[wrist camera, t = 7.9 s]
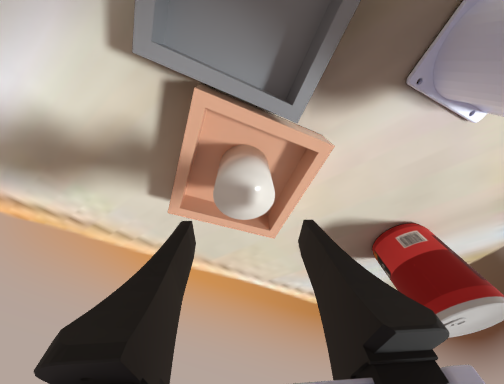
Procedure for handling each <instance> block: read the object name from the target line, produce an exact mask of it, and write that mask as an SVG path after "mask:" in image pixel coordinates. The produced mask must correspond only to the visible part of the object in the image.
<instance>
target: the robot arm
mask: <svg viewBox="0 0 504 384" xmlns="http://www.w3.org/2000/svg"><path fill="white" fill-rule="evenodd" d="M418 79H420V81H419V82H418V83H417V81H418ZM407 84H408V85H409V86H411V87H413V88H414V89H416V90H418V91H419V92H421V93H423V94H424V95H426V96H428V97H429V98H431V99H433V100H435V101H436V102H438V103H440V104H441V105H443V106H445V107H446V108H448V109H450V110H451V111H453V112H455V113H456V114H458V115H460V116H462V117H463V118H465V119H467V120H468V121H470V122H474V123H475V122H478V121H480V120H481V119H482V118H483V117H484V116H485V115H486V114H487V113H489V114H493V115H498V116H503V117H504V0H463V1H462V3H461V4H460V6H459V7H458V8H457V10H456V11H455V12H454V14H453V15H452V17H451V18H450V19H449V21H448V22H447V24H446V25H445V26H444V28H443V29H442V30H441V32H440V33H439V35H438V36H437V37H436V39H435V40H434V42H433V43H432V44H431V46H430V47H429V48H428V50H427V51H426V53H425V54H424V55H423V57H422V58H421V60H420V61H419V62H418V64H417V65H416V66H415V68H414V69H413V71H412V72H411V73H410V75H409V76H408V78H407ZM298 243H299V248H300V252H301V256H302V259H303V262H304V265H305V267H306V270H307V273H308V276H309V278H310V281H311V284H312V287H313V290H314V293H315V296H316V300H317V304H318V308H319V311H320V316H321V320H322V324H323V328H324V333H325V338H326V342H327V347H328V353H329V358H330V363H331V369H332V375H333V380H334V381H321V382H309V383H295V384H485V382H484V381H483V380H482V379H481V377H480V376H479V375H478V373H477V372H476V371H475V369H474V368H473V367H472V366H471V365H457V366H447V367H442V368H440V367H439V366H438V365H437V363H436V362H435V360H437V359H438V357H437V355H436V354H435V352H434V351H433V348H435V347H436V346H438V345H439V344H441V343H442V342H444V341H445V340H446V339H448V337H449V334H450V333H449V331H448V329H447V328H446V327H445V325H444V324H443V323H442V322H441V320H440V319H439V318H438V317H437V315H436V314H435V313H434V312H433V310H431V309H429V308H427V307H425V306H424V305H422V304H420V303H418V302H416V301H414V300H413V299H411V298H409V297H407V296H406V295H404V294H402V293H401V292H399V291H397V290H396V289H394V288H392V287H391V286H389V285H388V284H386V283H385V282H383V281H382V280H380V279H379V278H377V277H376V276H375V275H373V274H372V273H370V272H369V271H368V270H366V269H365V268H364V267H362V266H361V265H360V264H359V263H357V262H356V261H355V260H354V259H352V258H351V257H350V256H349V255H348V254H347V253H346V252H345V251H343V250H342V249H341V248H340V247H339V246H338V245H337V244H336V243H335V242H334V241H333V240H332V239H331V238H330V237H329V236H328V235H327V234H326V233H325V232H324V231H323V230H322V229H321V228H320V227H319V226H318V225H317V224H316V223H315V222H314V220H304V221H303V225H302V229H301V232H300V236H299V240H298ZM195 246H196V241H195V236H194V230H193V224H192V221H182V222H181V223H180V224H179V225H178V227H177V228H176V229H175V230H174V232H173V233H172V234H171V236H170V237H169V238H168V239H167V241H166V242H165V243H164V244H163V245H162V247H161V248H160V249H159V250H158V251H157V252H156V253H155V254H154V255H153V257H152V258H151V259H150V260H149V261H148V262H147V263H146V264H145V265H144V266H143V267H142V268H141V269H140V270H139V271H138V272H137V273H136V274H134V275H133V276H132V277H131V278H130V279H129V280H128V281H127V282H125V283H124V284H123V285H122V286H121V287H120V288H118V289H117V290H116V291H115V292H113V293H112V294H111V295H109V296H108V297H107V298H106V299H104V300H103V301H102V302H100V303H99V304H98V305H96V306H95V307H94V308H92V309H91V310H89V311H88V312H87V313H85V314H84V315H82V316H81V317H79V318H78V319H76V320H75V321H73V322H72V323H70V324H69V325H67V326H66V327H64V328H63V329H61V330H60V332H59V333H58V335H57V336H56V337H55V339H54V340H53V342H52V343H51V345H50V346H49V348H48V349H47V351H46V353H45V354H44V356H43V357H42V359H41V360H40V362H39V363H38V365H37V367H36V368H35V369H34V373H35V376H36V377H38V378H39V379H41V380H43V381H45V382H47V383H49V384H169V383H170V375H171V368H172V361H173V353H174V346H175V339H176V334H177V328H178V322H179V316H180V310H181V305H182V300H183V295H184V291H185V288H186V284H187V280H188V277H189V273H190V270H191V266H192V262H193V259H194V252H195Z"/></svg>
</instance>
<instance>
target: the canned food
mask: <svg viewBox="0 0 504 384" xmlns="http://www.w3.org/2000/svg"><path fill="white" fill-rule="evenodd" d="M372 250H373V254H374V256H375V258H376V260H377V261H378V263H379V264H380V265H381V267H382V268H383V270H384V271H385V273H386V274H387V276H388V277H389V278H390V280H391V281H392V283H393V284H394V286H395V287H396V288H397V290H398V291H399V292H401V293H402V294H404V295H406V296H407V297H409V298H411V299H413V300H414V301H416V302H418V303H420V304H422V305H424V306H425V307H427V308H429V309H431V310H433V312H434V313H435V314H436V315H437V317H438V318H439V319H440V320H441V322H442V323H443V324H444V325H445V327H446V328H447V329H448V331H449V333H450V334H449V337H455V336H461V335H466V334H470V333H473V332H476V331H480V330H483V329H485V328H488V327H490V326H493V325H495V324H497V323H499V322H501V321H503V320H504V295H502V294H501V293H500V292H499V291H498V290H497V289H496V288H495V287H494V286H493V285H491V284H490V283H489V282H488V281H487V280H486V279H484V278H483V277H482V276H481V275H480V274H479V273H478V272H477V271H475V270H474V269H473V268H472V267H471V266H470V265H469V264H467V263H466V262H465V261H464V260H463V259H462V258H460V257H459V256H458V255H457V254H456V253H455V252H454V251H452V250H451V249H450V248H449V247H448V246H447V245H446V244H444V243H443V242H442V241H441V240H440V239H439V238H437V237H436V236H435V235H434V234H433V233H432V232H431V231H429V230H428V229H427V228H425V227H423V226H421V225H419V224H414V223H409V224H402V225H398V226H395V227H393V228H391V229H389V230H387V231H386V232H384V233H383V234H381V235H380V236H379V237H378V238H377V239H376V241H375V242H374V244H373V247H372Z"/></svg>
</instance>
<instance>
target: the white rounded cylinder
mask: <svg viewBox="0 0 504 384" xmlns="http://www.w3.org/2000/svg"><path fill="white" fill-rule="evenodd" d="M213 199H214V202H215V204H216V206H217V208H218V209H219V210H220V211H221V212H222V213H223V214H225V215H227V216H229V217H231V218H234V219H239V220H249V219H254V218H257V217H259V216H261V215H263V214H265V213H266V212H267V211H268V210H269V209H270V208H271V206H272V205H273V202H274V199H275V190H274V186H273V182H272V177H271V173H270V169H269V165H268V161H267V158H266V156H265V155H264V154H263V152H262V151H260V150H259V149H258V148H256V147H253V146H250V145H237V146H234V147H232V148H230V149H229V150H227V151H226V152H225V153H224V155H223V156H222V158H221V160H220V164H219V169H218V173H217V177H216V182H215V186H214V191H213Z"/></svg>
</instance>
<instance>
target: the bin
mask: <svg viewBox="0 0 504 384" xmlns="http://www.w3.org/2000/svg"><path fill="white" fill-rule="evenodd" d="M360 1H361V0H135V13H134V32H133V50H132V52H133V53H135V54H137V55H140V56H142V57H144V58H147V59H149V60H151V61H154V62H156V63H158V64H161V65H163V66H165V67H168V68H170V69H172V70H175V71H177V72H179V73H181V74H184V75H186V76H188V77H191V78H193V79H195V80H198V81H200V82H202V83H205V84H207V85H209V86H212V87H214V88H216V89H219V90H221V91H223V92H226V93H228V94H230V95H233V96H235V97H237V98H240V99H242V100H244V101H247V102H249V103H251V104H254V105H256V106H258V107H261V108H263V109H265V110H268V111H270V112H272V113H275V114H277V115H279V116H282V117H284V118H286V119H289V120H291V121H293V122H296V123H298V121H299V119H300V117H301V115H302V114H303V112H304V110H305V108H306V106H307V104H308V102H309V100H310V98H311V96H312V94H313V92H314V90H315V88H316V86H317V84H318V82H319V80H320V79H321V77H322V75H323V73H324V71H325V69H326V67H327V65H328V63H329V61H330V59H331V57H332V55H333V53H334V51H335V49H336V47H337V45H338V44H339V42H340V40H341V38H342V36H343V34H344V32H345V30H346V28H347V26H348V24H349V22H350V20H351V18H352V16H353V14H354V12H355V10H356V9H357V7H358V5H359V3H360Z"/></svg>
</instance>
